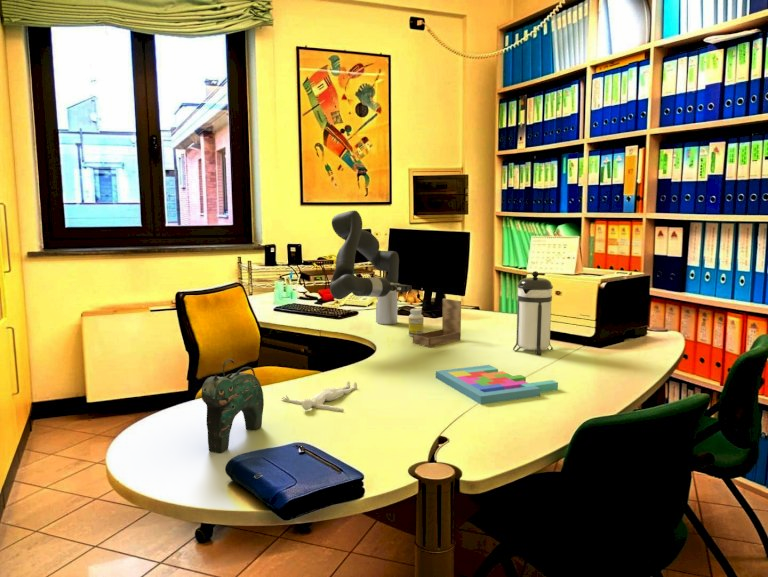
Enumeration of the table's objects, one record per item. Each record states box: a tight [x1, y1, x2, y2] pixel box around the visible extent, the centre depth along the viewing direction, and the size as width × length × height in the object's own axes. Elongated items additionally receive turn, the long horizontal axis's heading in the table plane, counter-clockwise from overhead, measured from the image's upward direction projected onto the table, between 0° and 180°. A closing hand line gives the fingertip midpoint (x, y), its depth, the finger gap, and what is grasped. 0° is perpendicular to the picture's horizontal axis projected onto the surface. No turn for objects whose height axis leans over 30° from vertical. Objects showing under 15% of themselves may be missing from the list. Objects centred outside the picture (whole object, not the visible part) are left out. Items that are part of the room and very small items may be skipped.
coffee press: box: [512, 270, 554, 356], centre depth 231 cm, size 17×16×30 cm
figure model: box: [281, 380, 358, 412], centre depth 176 cm, size 21×4×25 cm
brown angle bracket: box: [412, 298, 462, 348], centre depth 246 cm, size 9×18×16 cm, turn 132°
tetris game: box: [435, 364, 559, 405], centre depth 189 cm, size 28×3×28 cm
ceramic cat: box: [201, 358, 265, 454], centre depth 145 cm, size 20×6×20 cm, turn 158°
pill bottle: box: [408, 308, 424, 337], centre depth 258 cm, size 6×6×11 cm
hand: (403, 287), depth 250 cm, fingers open, 8 cm apart
